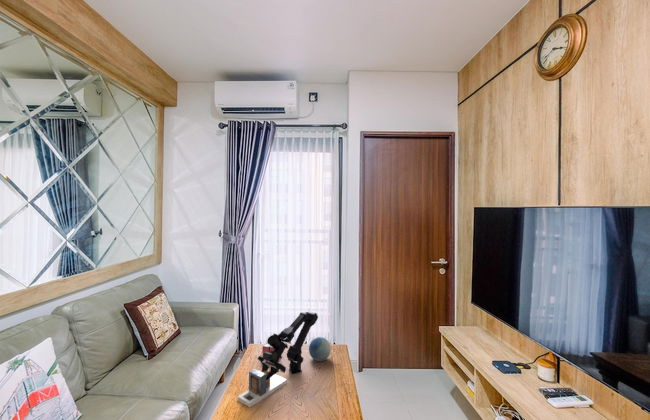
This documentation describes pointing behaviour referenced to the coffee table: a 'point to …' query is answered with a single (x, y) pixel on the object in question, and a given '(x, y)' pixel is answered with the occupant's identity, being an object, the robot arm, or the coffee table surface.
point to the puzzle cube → (267, 348)
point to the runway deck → (251, 398)
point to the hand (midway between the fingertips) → (263, 378)
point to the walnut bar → (256, 383)
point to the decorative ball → (319, 349)
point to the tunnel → (262, 380)
